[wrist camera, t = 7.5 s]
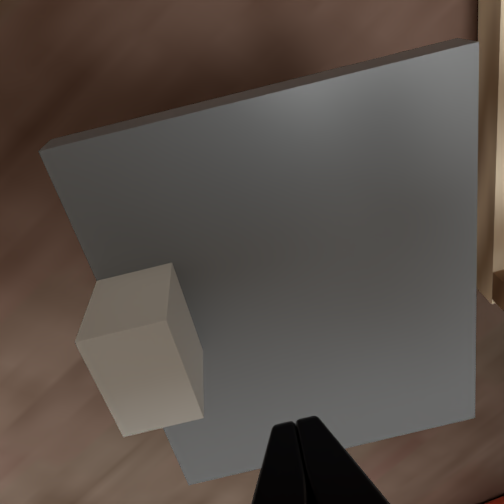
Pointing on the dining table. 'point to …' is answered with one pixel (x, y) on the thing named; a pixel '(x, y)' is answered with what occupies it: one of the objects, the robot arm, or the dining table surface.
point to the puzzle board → (491, 152)
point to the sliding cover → (284, 257)
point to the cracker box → (496, 501)
